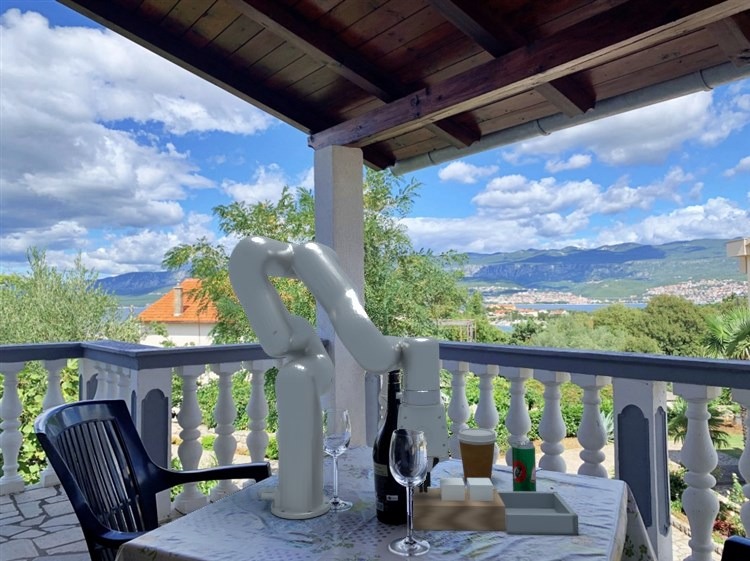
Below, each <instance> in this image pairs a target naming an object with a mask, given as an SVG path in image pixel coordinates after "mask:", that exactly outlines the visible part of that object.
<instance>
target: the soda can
mask: <svg viewBox="0 0 750 561" xmlns="http://www.w3.org/2000/svg"><path fill="white" fill-rule="evenodd" d="M511 459H512V461H511V462H512V464H511V466H512V470H511V471H512V491H529V492H537V473H536V472H537V469H536V468H537V467H536V466H537V465H536V447H535V445H534V442H533V441H532V440H528V439H515V440H513V444H512V445H511Z"/></svg>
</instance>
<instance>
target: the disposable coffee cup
mask: <svg viewBox="0 0 750 561" xmlns="http://www.w3.org/2000/svg"><path fill="white" fill-rule="evenodd" d="M457 439H458V441H459V451H460V455H461V456H460V457H461V462H462V463H461V464H462V472H463V477H464V479H463V480H464V483H466V482H467V478H489V479H490V481H491V482H492V474H493V465H494V464H493V463H494V454H495V453H494V452H495V443H496V442H497V436H496V432H495V431H494V430H492V429H488V428H481V427H472V428H471V427H469V428H462V429H459V430H458V435H457Z"/></svg>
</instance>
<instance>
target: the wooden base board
mask: <svg viewBox="0 0 750 561" xmlns="http://www.w3.org/2000/svg"><path fill="white" fill-rule="evenodd" d="M417 488H418V489H416V490H415V491H414V495H413V531H415V530H416V531H417V530H419V531H420V530H423V531H427V530H428V531H429V530H430V531H480V532H481V531H483V532H484V531H492V532H493V531H495V532H496V531H497V532H500V531H501V532H506V516H505V505H504V503H503V501H502V499H501V498H500V496H499V494H498V492H497V488H493V501H470V499H469V497H468V494H467V487H465V501H442V499H441V495H440V487H427V493H425V492H424V489H423V492H422V493H420V492H419V487H417Z"/></svg>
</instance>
